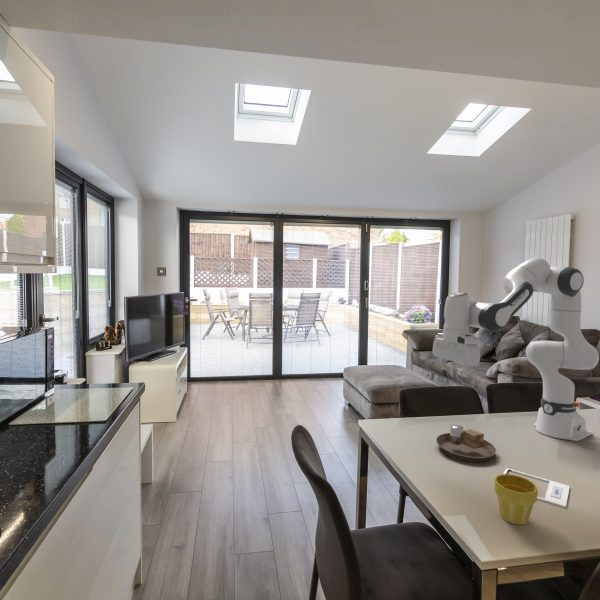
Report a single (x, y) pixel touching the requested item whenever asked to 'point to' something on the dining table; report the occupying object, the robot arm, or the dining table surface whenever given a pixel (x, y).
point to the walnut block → (473, 438)
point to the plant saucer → (465, 450)
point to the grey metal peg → (456, 434)
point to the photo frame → (551, 491)
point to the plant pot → (515, 497)
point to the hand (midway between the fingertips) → (453, 372)
